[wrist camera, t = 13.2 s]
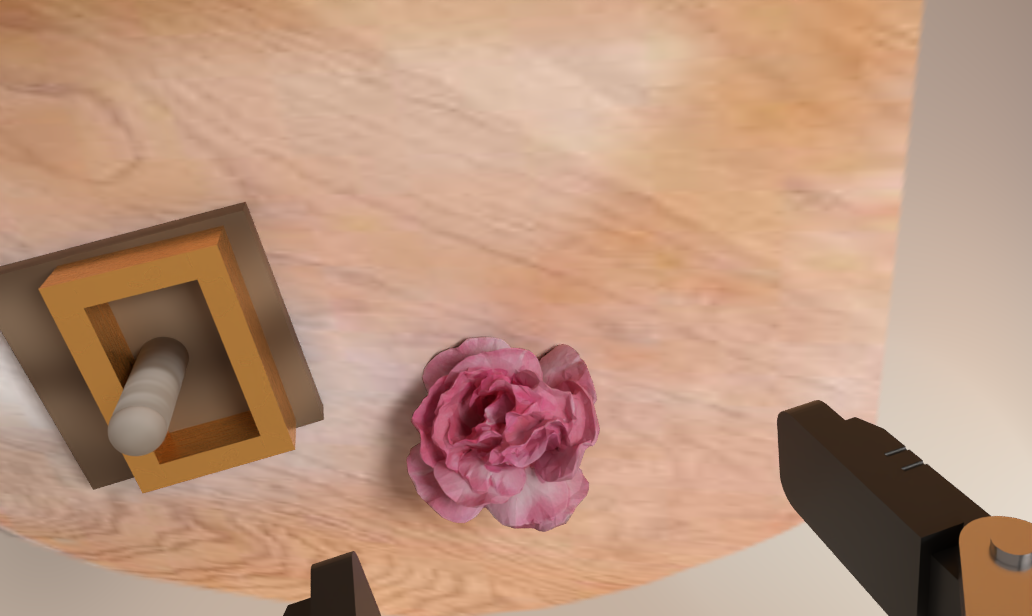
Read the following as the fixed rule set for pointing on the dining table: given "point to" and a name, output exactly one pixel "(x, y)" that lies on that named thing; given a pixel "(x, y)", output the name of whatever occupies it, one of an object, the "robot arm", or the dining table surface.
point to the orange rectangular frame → (109, 361)
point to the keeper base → (144, 322)
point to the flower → (504, 434)
